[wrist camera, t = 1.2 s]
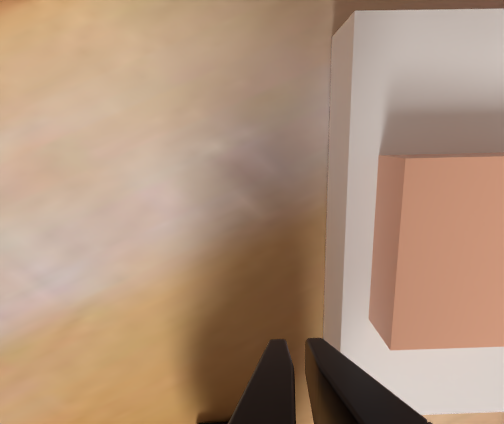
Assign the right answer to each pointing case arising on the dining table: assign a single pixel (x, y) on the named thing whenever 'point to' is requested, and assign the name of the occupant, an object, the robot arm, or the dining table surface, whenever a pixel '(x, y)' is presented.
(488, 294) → the tan wooden brick
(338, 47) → the riser
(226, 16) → the dining table surface
